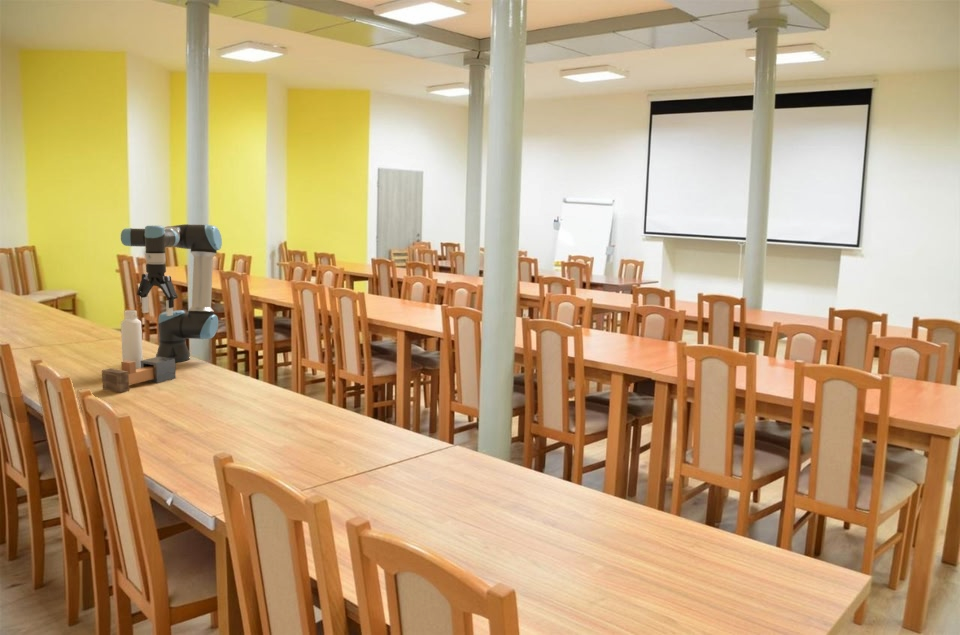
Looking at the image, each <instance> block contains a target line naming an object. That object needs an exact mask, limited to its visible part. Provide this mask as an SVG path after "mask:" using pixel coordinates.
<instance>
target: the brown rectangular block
mask: <svg viewBox="0 0 960 635" xmlns="http://www.w3.org/2000/svg"><path fill="white" fill-rule="evenodd" d="M101 377H102V390H103V391H108V392H112V393H119V394H122V393H123V394H124V393H126V392H129V391H130V385H129V375H128V371H123V370H122V369H115V368H105V369H103V370H101Z"/></svg>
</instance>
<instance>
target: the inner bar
mask: <svg viewBox="0 0 960 635" xmlns="http://www.w3.org/2000/svg"><path fill="white" fill-rule="evenodd" d="M120 363H121V364H120V366H121V370H123V371H128V375H129V386H131V385H134V384H140V383H142V382H147V380H151V379H154V367H152V366H148V367H144V368H140V369H136V363H135V362H134V361H128V360H127V361H123V360H122V361H120Z"/></svg>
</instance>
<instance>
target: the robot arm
mask: <svg viewBox="0 0 960 635" xmlns="http://www.w3.org/2000/svg"><path fill="white" fill-rule="evenodd" d="M120 232H121V233H120V241H121V244H122V245H123V246H124V247H125V246H126V247H145V248H144V249H145V262H146V264H145V271H146V272H145V273H142V274H141V279H140V282H139V287H138V289H137V292H136V296H139V297H140V301H141V302H140V304H141V308H142V312H141V313H142V314H146V313H149V312H150V305H149V304H150V303H149V296H148V295H149V293H150V292H151V290H152V288H153V287H154V286H155V287H159V288H160V289H161V292H162V293H163V295H164V296H165V297H166V301H165V306H166V310H165V311H166V312H165V311H164V312H161V313H160V314H159V315H158V323H157V324H158V341H159V343H158V348H157V352H156V355H155V357H159V356H160V357H166V358H173V359H175V363H180V362H185V361H189V360H190V359H191V354H190V352H189V349H188V345H187V342H186V339H190V340H191V339H192V340H193V339H195V340H197V339H199V340H210V339H212V338H214V336H216V333H217V331H218V328H219V317H218V316H217V315H216V314H215V310H214V309H213V308H212V290H213V287H212V286H213V270H214V268H213V267H214V266H213V265H214V258H215V256H216V255H217V252H218V251H220V250H221V248H222V246H223V245H222V244H223V242H222V234H221V231H220V229H219V228H218V227H217V226H216V225H211V224H178V225H168V226H163V225H146V226H145V227H144V228H133V227H132V228H131V227H130V228H128V227H127V228H124V229H122V230H121V231H120ZM166 248H178V249H184V250H185V249H186V250H190V254H191V255H192V256H193V266H192V267H193V272H192V289H191V290H192V291H191V292H192V296H191V307H190V308H189V309H188V310H187V313H186V311H185V310H181V309H178V310H174V304H175V303H174V300H175V299H178V295H177V292H176V289H175V287H174V284H173V282H172V277H171V275H165V273H166V272H167V267H166V266H167V264H166V261H167V260H166ZM189 357H190V358H189Z"/></svg>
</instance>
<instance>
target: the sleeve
mask: <svg viewBox="0 0 960 635" xmlns="http://www.w3.org/2000/svg"><path fill="white" fill-rule="evenodd" d="M148 366H152V367H154V379H151V380H147V381H146V382H147V383H154V384H159V383H163V382H166V381H167V382H168V381H171V380H174V379H176V378H177V377H176V362H175V359H173V358H166V357H160V356H159V357H156V356H154V357H151V358H146V359H143V360H141V368H144V367H148Z"/></svg>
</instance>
